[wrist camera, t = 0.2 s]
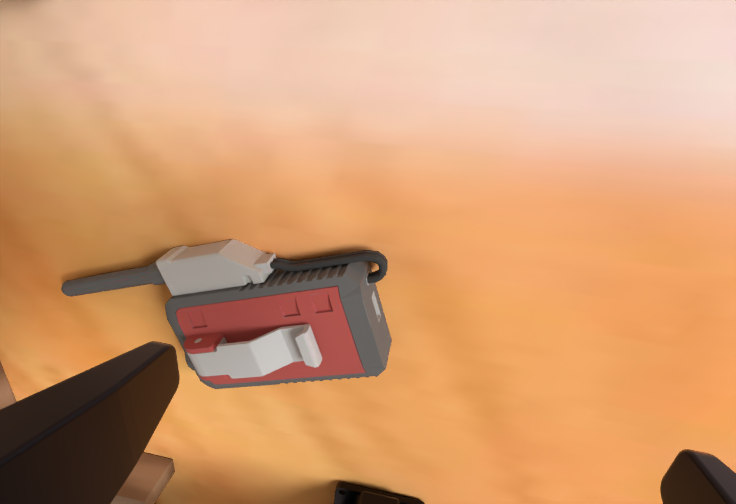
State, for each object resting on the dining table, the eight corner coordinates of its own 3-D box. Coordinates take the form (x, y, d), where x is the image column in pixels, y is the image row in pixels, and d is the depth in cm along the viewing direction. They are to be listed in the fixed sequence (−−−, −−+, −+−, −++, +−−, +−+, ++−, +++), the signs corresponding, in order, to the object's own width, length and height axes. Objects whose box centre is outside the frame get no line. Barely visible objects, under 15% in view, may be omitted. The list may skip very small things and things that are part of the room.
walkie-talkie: (378, 205, 21) (73, 263, 27) (362, 242, 17) (8, 301, 23) (414, 344, 25) (138, 371, 30) (407, 401, 21) (91, 420, 26)
